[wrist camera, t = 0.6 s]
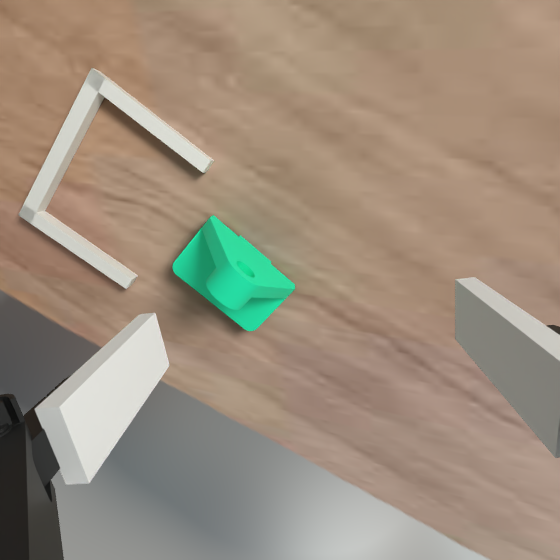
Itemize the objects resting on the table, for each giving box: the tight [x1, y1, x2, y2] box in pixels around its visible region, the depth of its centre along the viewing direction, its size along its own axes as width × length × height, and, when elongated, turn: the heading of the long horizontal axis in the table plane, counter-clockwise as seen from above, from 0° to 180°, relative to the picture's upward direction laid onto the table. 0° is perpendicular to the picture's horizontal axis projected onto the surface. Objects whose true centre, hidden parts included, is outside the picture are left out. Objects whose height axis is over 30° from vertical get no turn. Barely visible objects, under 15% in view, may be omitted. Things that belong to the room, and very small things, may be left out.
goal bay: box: [19, 68, 214, 289], centre depth 39 cm, size 14×18×2 cm
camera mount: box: [173, 215, 295, 331], centre depth 37 cm, size 12×8×10 cm, turn 49°
